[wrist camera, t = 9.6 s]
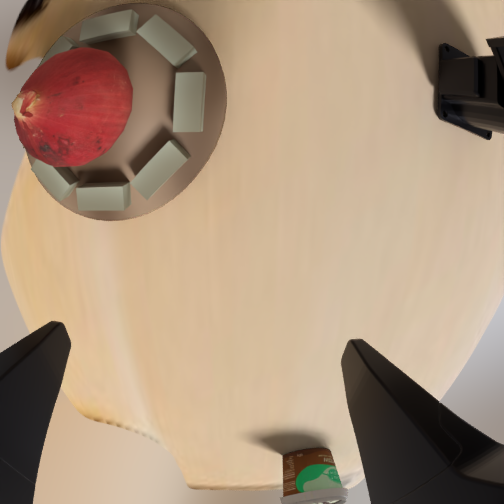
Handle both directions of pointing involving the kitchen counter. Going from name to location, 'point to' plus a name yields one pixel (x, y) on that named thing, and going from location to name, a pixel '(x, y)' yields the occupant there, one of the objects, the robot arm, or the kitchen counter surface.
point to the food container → (311, 478)
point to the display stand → (145, 113)
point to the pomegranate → (73, 107)
